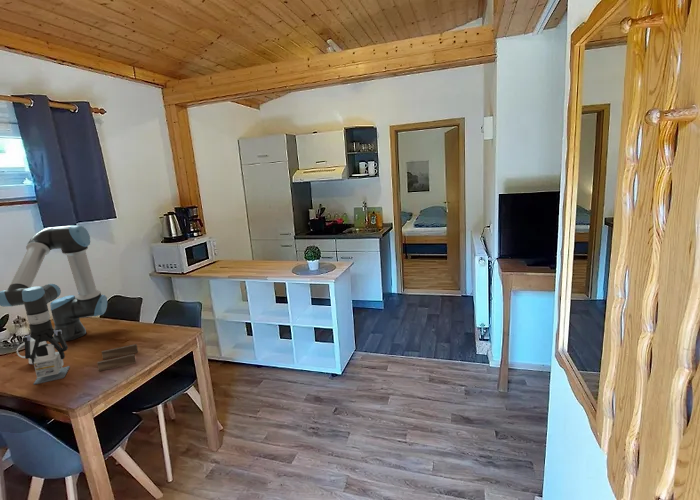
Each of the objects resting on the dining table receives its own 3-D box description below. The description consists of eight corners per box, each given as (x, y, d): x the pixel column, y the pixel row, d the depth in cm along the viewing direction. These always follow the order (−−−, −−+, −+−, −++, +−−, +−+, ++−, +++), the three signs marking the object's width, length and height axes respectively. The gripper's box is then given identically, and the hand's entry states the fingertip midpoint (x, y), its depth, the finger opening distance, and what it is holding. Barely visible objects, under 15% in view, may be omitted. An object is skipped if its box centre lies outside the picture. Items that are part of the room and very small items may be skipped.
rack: (103, 358, 185) (102, 351, 184) (137, 351, 191) (136, 343, 190) (98, 371, 172) (97, 363, 171) (135, 362, 178) (134, 355, 178)
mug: (19, 368, 179) (13, 345, 177) (21, 361, 186) (15, 339, 184) (50, 360, 186) (44, 338, 183) (51, 354, 193) (46, 332, 190)
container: (36, 378, 163) (30, 351, 161) (42, 370, 170) (36, 344, 168) (58, 374, 167) (52, 347, 164) (62, 366, 173) (57, 340, 171)
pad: (41, 373, 173) (41, 372, 173) (69, 367, 178) (69, 365, 178) (33, 384, 163) (33, 383, 163) (64, 377, 168) (63, 376, 168)
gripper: (6, 329, 157) (19, 378, 162) (65, 319, 166) (76, 365, 171) (13, 323, 164) (25, 370, 169) (69, 314, 173) (79, 358, 177)
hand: (50, 368), depth 170 cm, fingers closed on container, 8 cm apart
